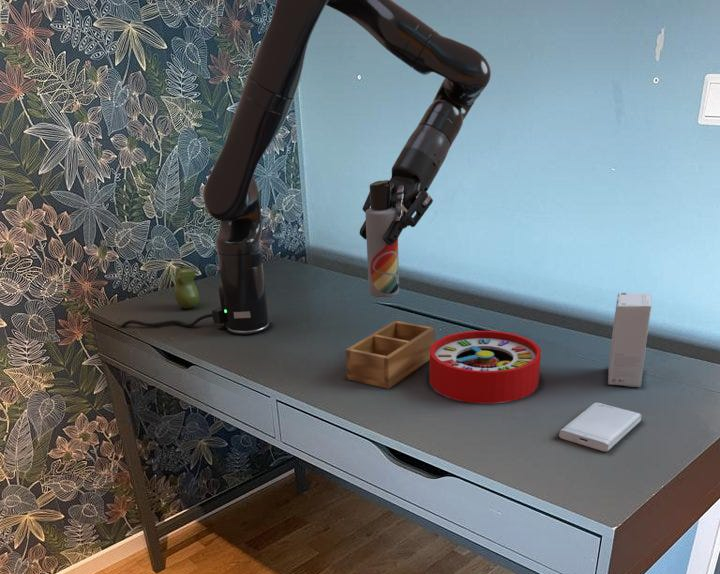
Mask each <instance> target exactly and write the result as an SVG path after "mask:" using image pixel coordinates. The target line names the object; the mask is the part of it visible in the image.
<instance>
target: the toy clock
mask: <svg viewBox="0 0 720 574" xmlns="http://www.w3.org/2000/svg"><path fill="white" fill-rule="evenodd" d="M541 356H542V349H541V348H540V346H539V345H538V344H537V343H536V342H534V341H533V340H531V339H530V338H527V337H525V336H523V335H519V334H515V333H511V332H505V331H499V330H471V331H470V330H469V331H461V332H456V333H452V334H448V335H445V336H443V337H441V338H439V339H437V340H435V343H433V345H432V346H431V348H430V360H429V377H428V378H429V385H430V386H431V388H432V389H433V390H434V391H435V392H437V393H438V394H440V395H442V396H444V397H446V398H449V399H451V400H455V401H460V402H465V403H471V404H483V405H484V404H485V405H486V404H487V405H488V404H502V403H503V404H504V403H508V402H514V401H517V400H520V399H524V398H525V397H528V396H529V395H531V394H533V393H534V392H535V391H536V390H537V389H538V386H539V382H540V381H539V380H540V369H541V359H542V358H541Z"/></svg>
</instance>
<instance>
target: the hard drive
mask: <svg viewBox="0 0 720 574" xmlns="http://www.w3.org/2000/svg"><path fill="white" fill-rule="evenodd" d="M641 420H642V414H641V413H639V412H635V411H632V410H628V409H625V408H621V407H617V406H613V405H610V404H605V403H601V402H594V403H593V404H591V405H590V406H589V407H587V409H585V410H584V411H583V412H581V413H579V415H578V416H576V417H575V418H574V419H573V420H571V421H570V422H569V423H567V424H566V425H565V426H564V427H563V428H561V429H560V430H559V435H558V436H559V438H560V439H562V440H564V441H568V442H572V443H575V444H577V445H581V446H585V447H588V448H591V449H594V450H597V451H601V452H603V453H604V452H609V451H610V450H611V449H612V448H613V447H614V446H615V445H616V444H618V442H620V441H621V440H622V439H623V438H624V437H625V436H626V435H627V434H629V432H631V430H633V429H634V428H635V427H636V426H637V425H638V424H639V423H640V422H641Z"/></svg>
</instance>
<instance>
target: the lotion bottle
mask: <svg viewBox="0 0 720 574" xmlns="http://www.w3.org/2000/svg"><path fill="white" fill-rule="evenodd" d="M389 180H390V179H384V180H377V181H374V182H372V183H370V184H369V192H370V205H371V206H370V208H369V209H367V210H366V213H365V220H366V239H367V240H366V239H365V240H366V259H367V280H368V281H367V282H368V284H367V285H368V294H369V295H370V296H372V297H374V298H390V297H393V296H394V297H395V296H397V295H398V294H399V292H400V271H399V270H400V266H399V238H398V239H397V240H396V242H395V243H394V244H393V245H392V246H390V245H388V244H387V243H386V242H385V241H384V240H383V237H384V235H385V234H386V232H387V230H388V228H389V227H390V225H391V223H392V221H396V220H395V216H396V208H394V207H392V196H391V183H390V182H389Z"/></svg>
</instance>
